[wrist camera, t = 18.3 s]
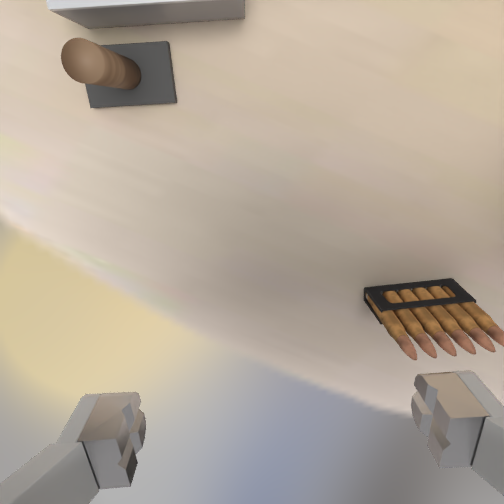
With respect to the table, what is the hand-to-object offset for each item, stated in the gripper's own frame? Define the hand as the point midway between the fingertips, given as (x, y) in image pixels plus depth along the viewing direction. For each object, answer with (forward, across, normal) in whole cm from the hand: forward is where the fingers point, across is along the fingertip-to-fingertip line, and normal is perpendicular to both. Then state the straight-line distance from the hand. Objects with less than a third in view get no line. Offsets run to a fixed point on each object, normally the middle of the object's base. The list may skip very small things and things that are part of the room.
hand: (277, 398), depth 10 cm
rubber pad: (+29, -11, +11) cm, 33 cm away
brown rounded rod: (+28, -11, +11) cm, 32 cm away
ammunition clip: (+29, +18, -14) cm, 37 cm away
